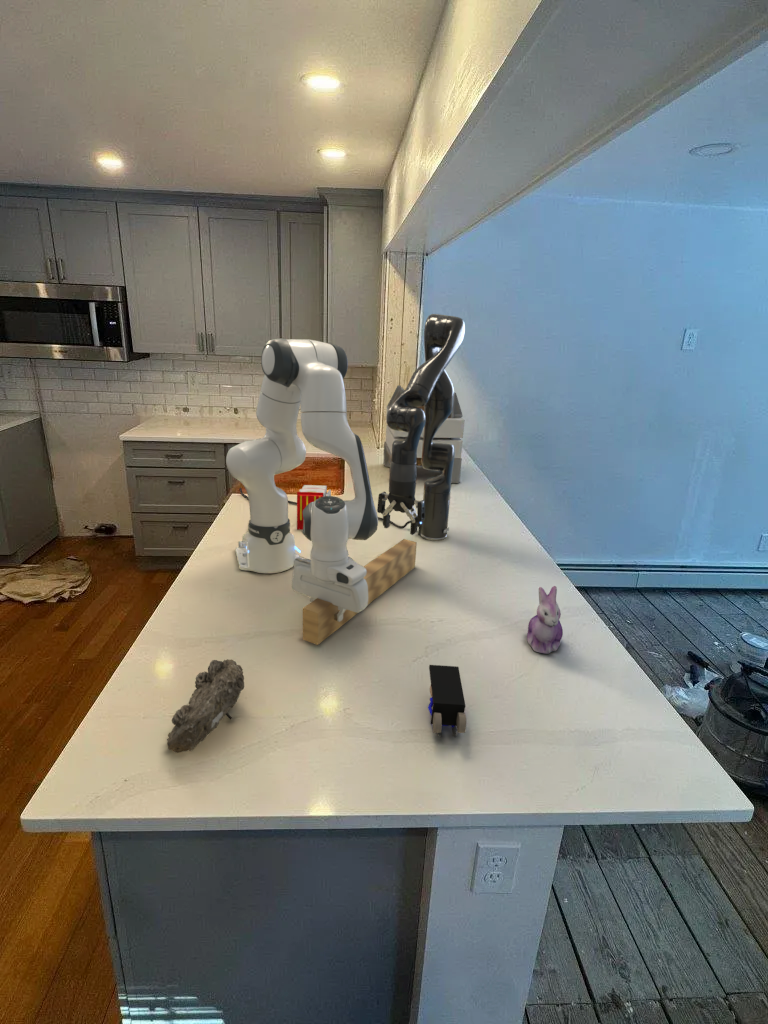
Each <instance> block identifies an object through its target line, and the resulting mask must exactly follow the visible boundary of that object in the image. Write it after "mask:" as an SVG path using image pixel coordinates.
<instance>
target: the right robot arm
mask: <svg viewBox="0 0 768 1024" xmlns="http://www.w3.org/2000/svg"><path fill="white" fill-rule="evenodd" d="M465 333H466V323H465V321H464V320H463V318H461V317H459V316H454V315H447V314H439V313H431V314H429V315H428V316H427V318H426V320H425V323H424V329H423V346H424V362H423V363H422V364H421V365H420V366H418V367H417V368H416V369H415V371H414V372H413V373H412V375H411V377H410V378H409V381H408V383H407V386H406V387H405V389H404V390H405V391H404V392H403V393H402V394H401V395H400V396H399V398H398V399H397V400H396V401H395V402H394V403H393V404H392V405H391V407H390V409H389V410H388V413H387V418H386V417H385V421H386V420H387V423H386V426H387V425H388V426H389V428H391V429H392V430H396V431H403V432H408V436H407V438H406V439H399V440H395V441H394V442H393V444H392V454H391V465H390V467H389V475H390V476H389V475H388V476H389V477H388V478H389V479H388V480H389V481H388V493H387V492H386V491H382V492H380V493H379V494H378V498H377V509H376V512H377V514H381V515H382V517H380V516H378V521H379V520H380V521H382V526H383V528H384V529H388V528H390V527H391V525H392V526H394V527H396V528H398V529H405V528H406V527H407V526H408V525H409V524H410V531H409V534H410V535H411V536H414V535H415V534H416V533H417V535H418V536H420V538H421V539H424V540H426V541H432V542H440V541H444V540H446V539H447V538H448V531H450V527H448V525H449V517H450V516H449V514H450V504H451V494H452V493H451V491H452V483H451V479H452V470H453V464H454V456H455V449H454V446H453V445H452V444H444V443H433V442H432V440H433V438H434V435H435V434H436V432H437V430H438V429H439V428H440V426H441V425H442V424H443V423H444V422H445V420H446V419H447V418H448V417H449V415H450V414H451V412H452V410H453V402H454V392H455V388H454V384H453V382H452V380H451V378H450V376H449V374H448V373H447V370H446V368H447V366H448V365H449V364H450V363H451V361H452V359H453V358H454V356H455V355H456V353H457V352H458V350H459V349H460V347H461V345H462V343H463V342H464V341H463V340H464V338H465ZM422 406H424V411H423V410H422V409H421V408H419V407H422ZM423 428H424V433H423V444H422V457H421V461H422V466H421V467H422V468H423V469H424V470H426V471H427V470H428V471H437V472H440V471H443V473H442V474H441V473H440V474H439V475H437V476H433V477H429V478H427V479H425V480H424V482H423V493H422V496H423V497H422V499H421V500H419V499H416V487H417V476H418V475H417V469H418V468H417V466H416V459H417V447H418V444H419V440H420V437H421V434H422V431H423ZM386 501H388V502H389V505H388V506H387V507H386ZM288 504H292V505H296V506H297V501H291V500H288ZM414 506H415V507H414ZM415 508H416V509H417V510H416V509H415ZM392 511H394V512H400V513H402V514H406V516H407V517H408V518H409V520H407V521H406V522H405V523H404V524H403V525H398V524H396V523H395V522H393V521H392V520H391V513H392Z"/></svg>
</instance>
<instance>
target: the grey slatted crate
mask: <svg viewBox="0 0 768 1024" xmlns="http://www.w3.org/2000/svg"><path fill="white" fill-rule="evenodd" d="M405 390H406V389H404V388H403V387H402V385H399V384H398V385H397V386H396V388H395V390H394V392H393V394H392V395H391V398H390V400H389V402H388V404H387V405H386V413H385V414H386V415H385V423H386V428H385V438H384V442H383V466H384V467H388V468H390V465H391V454H392V444H393V442H394V441H395V440H399V439H406V438H407V436H408V432H403V431H396V430H392V429H391V428H389V426H388V425H387V420H386V418H387V413H388V410H389V409H390V407H391V405H392V404H393V403H394V402H395V401H396V400H397V399H398V398H399V396H400V395H401V394H402V393H403V392H404V391H405ZM419 408H421V409H422V410H423V411H424V406H422V407H419ZM464 429H465V419H464V418H463V411H462V408H461V405H460V402H459V398H458V395H457V392H455V391H454V402H453V410H452V412H451V414H450V415H449V417H448V418H447V419H446V420H445V422H444V423H443V424H442V425H441V426H440V428H439V429H438V430H437V432H436V434H435V435H434V438H433V440H432V442H433V443H444V444H452V445H453V446H454V449H455V456H454V464H453V470H452V479H451V484H455V483H456V484H459V483H461V472H462V461H463V460H462V453H463V442H464V441H463V440H462V439H463V438H464V431H465V430H464ZM423 433H424V428H423V431H422V434H421V437H420V440H419V444H418V447H417V459H416V467H417V466H418V467H423V466H422V461H421V457H422V444H423ZM439 473H440V475H441V474H442V473H443V471H439ZM388 476H390V474H389V475H388Z"/></svg>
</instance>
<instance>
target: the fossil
mask: <svg viewBox="0 0 768 1024" xmlns="http://www.w3.org/2000/svg"><path fill="white" fill-rule="evenodd" d="M243 670H244V669H243V667H242V665H240V664H237V662H236V661H235V660H234V659H232V658H231V659H227V658H226V659H224V660H223V661H222V660H217V659H212V660H211V661H210V663H209V665H208V666H207V671H201V672H199V673H198V674H197V675H196V676H195V680H194V684H195V685H194V687H195V689H194V690H193V693H192V694H191V697H190V698H189V700H188V704H184V705H182V706H181V707H180V709H177V710H176V711H175V713H174V715H173V716H172V718H171V723H172V724H173V727H172V730H171V731H170V732H168V734H167V738H166V741H167V742H166V745H167V749H168V750H169V751H173V752H174V753H176V754H178V753H182V752H188V751H189V752H192V751H193V750H195V748H196V747H197V746H199V744H200V743H201V742H203V741H204V740H205V739H206V738H207V737H208V736H209V735H210V734H211V733H212V732H214V730H215V729H217V727H218V726H219V724H220V722H221V721H222V720H223V719H224V718H225V716H226V717H227V719H229V720H233V717H232V715H230V714H229V710H230V709H231V708H234V706H235V704H236V703H237V702H238V699H239V697H240V695H241V693H242V691H243V690H245V689H244V688H245V675H244V671H243Z"/></svg>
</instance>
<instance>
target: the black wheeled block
mask: <svg viewBox="0 0 768 1024" xmlns="http://www.w3.org/2000/svg"><path fill="white" fill-rule="evenodd" d="M428 670H429V677H430V678H429V679H430V686H429V694H430V698H429V701H430V702H429V704H428V705H427V709H428V712H429V714H430V725H432V732H433V734H437V736H438V737H439V738H441V737H442V728H443V727H449V726H450V727H451V734H452V737H454V738H456V737H457V736H458V734H457V733H459V734H465V733H466V731H467V716H466V713H465V710H466V700H465V694H464V690H463V685H462V679H461V678H462V677H461V673H460V667H459V666H453V665H442V664H441V665H440V664H439V665H438V664H429V666H428ZM442 726H443V727H442Z"/></svg>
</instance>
